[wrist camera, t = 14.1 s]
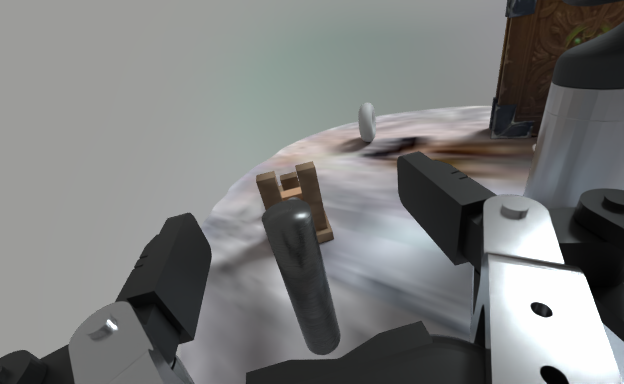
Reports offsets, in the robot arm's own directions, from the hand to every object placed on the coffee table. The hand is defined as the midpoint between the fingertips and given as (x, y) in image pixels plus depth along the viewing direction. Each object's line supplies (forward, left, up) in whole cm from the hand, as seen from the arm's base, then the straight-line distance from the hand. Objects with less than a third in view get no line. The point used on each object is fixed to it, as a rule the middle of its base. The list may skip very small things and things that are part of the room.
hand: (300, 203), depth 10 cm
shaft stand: (+1, -32, -21) cm, 38 cm away
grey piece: (+1, -13, -16) cm, 21 cm away
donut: (-22, -57, -22) cm, 65 cm away
